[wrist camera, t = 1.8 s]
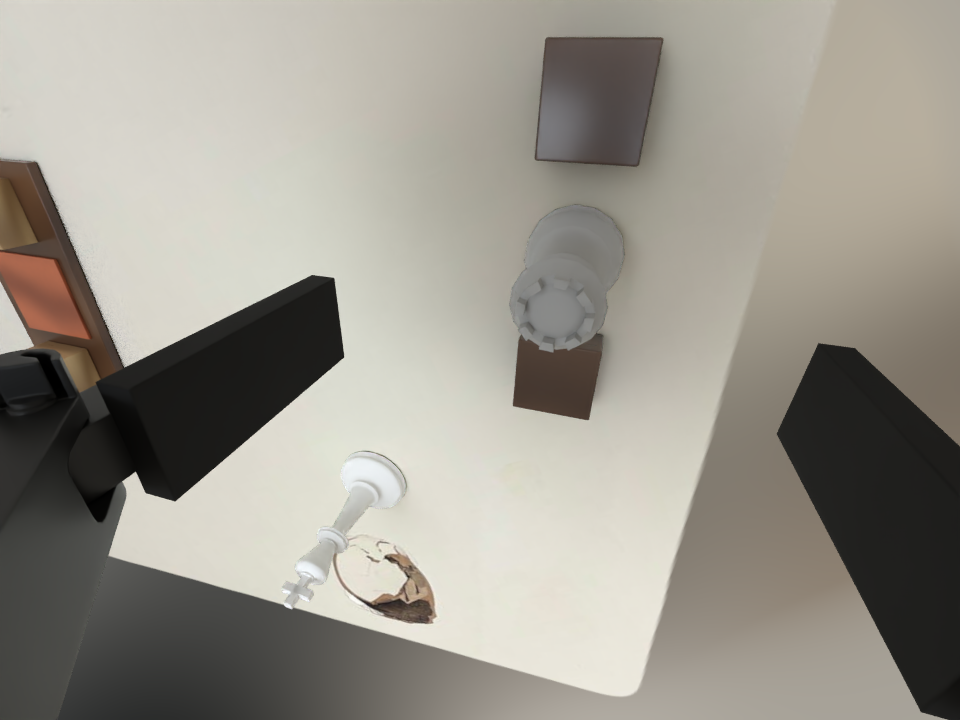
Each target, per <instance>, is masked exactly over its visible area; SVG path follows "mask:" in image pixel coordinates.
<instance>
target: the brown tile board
mask: <svg viewBox="0 0 960 720" xmlns="http://www.w3.org/2000/svg"><path fill="white" fill-rule="evenodd" d="M0 282H1V283H2V285H3V287H4V289H5V291H6V293H7V295H8V297H9V299H10V301H11V302H12V304H13V306H14V308H15V310H16V312H17V314H18V316H19V318H20V320H21V321H22V323H23V325H24V327H25V329H26V331H27V333H28V335H29V337H30V339H31V340H32V342H33V344H34V346H33V347H31V348H28V349H40V348H44V349H52V350H56V351H57V352H59V353H60V354H61V356H62V358H63V360H64V362H65V364H66V366H67V368H68V370H69V372H70V374H71V377H72V379H73V381H74V383H75V385H76V387H77V389H78V391H79V393H80V392H82V391H84V390H86V389H88V388H90V387H92V386H94V385H96V383H95V382H97V381H99V380H101V379H103V378H105V377H107V376H109V375H111V374H113V373H115V372H117V371H119V370H121V369H123V366H122V364H121V361H120V359H119V357H118V354H117V352H116V350H115V347H114V345H113V343H112V340H111V338H110V336H109V333H108V331H107V329H106V326H105V324H104V322H103V319H102V317H101V314H100V312H99V310H98V307H97V305H96V303H95V300H94V298H93V296H92V293H91V291H90V289H89V286H88V284H87V282H86V279H85V277H84V274H83V272H82V270H81V267H80V265H79V263H78V260H77V258H76V256H75V253H74V251H73V249H72V246H71V244H70V242H69V239H68V237H67V235H66V232H65V230H64V227H63V225H62V223H61V220H60V218H59V216H58V213H57V211H56V209H55V206H54V204H53V202H52V199H51V197H50V195H49V192H48V190H47V188H46V185H45V183H44V180H43V178H42V176H41V173H40V171H39V169H38V166H37V164H36V162H29V161H17V160H5V159H0Z"/></svg>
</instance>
